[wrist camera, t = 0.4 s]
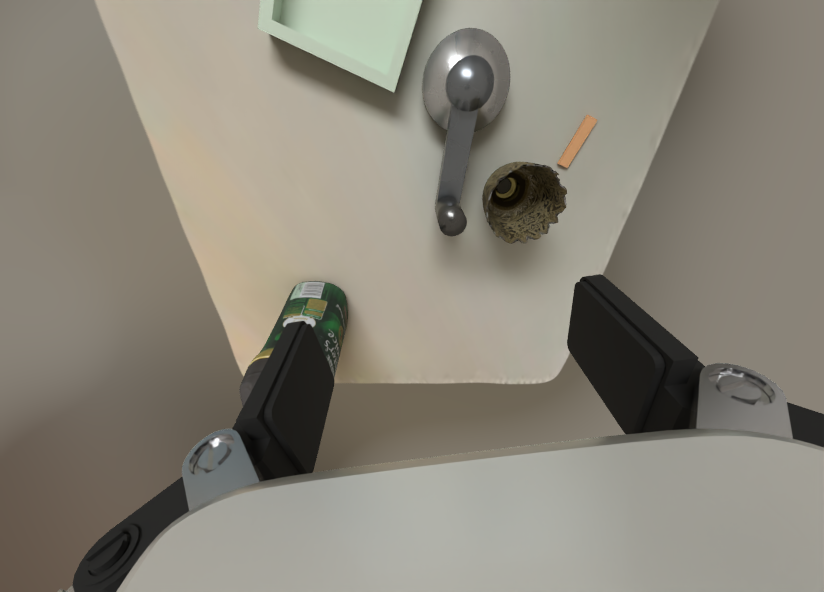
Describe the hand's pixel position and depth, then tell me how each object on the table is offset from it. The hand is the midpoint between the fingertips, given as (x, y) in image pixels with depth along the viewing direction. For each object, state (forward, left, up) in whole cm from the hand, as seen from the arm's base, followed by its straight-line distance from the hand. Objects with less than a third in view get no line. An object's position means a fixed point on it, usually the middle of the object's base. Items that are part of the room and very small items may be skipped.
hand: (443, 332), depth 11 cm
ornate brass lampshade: (-2, +10, -28) cm, 30 cm away
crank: (-4, +3, -25) cm, 26 cm away
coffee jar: (+22, -6, -28) cm, 36 cm away
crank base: (-9, +1, -28) cm, 29 cm away
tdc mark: (-9, +15, -28) cm, 33 cm away
